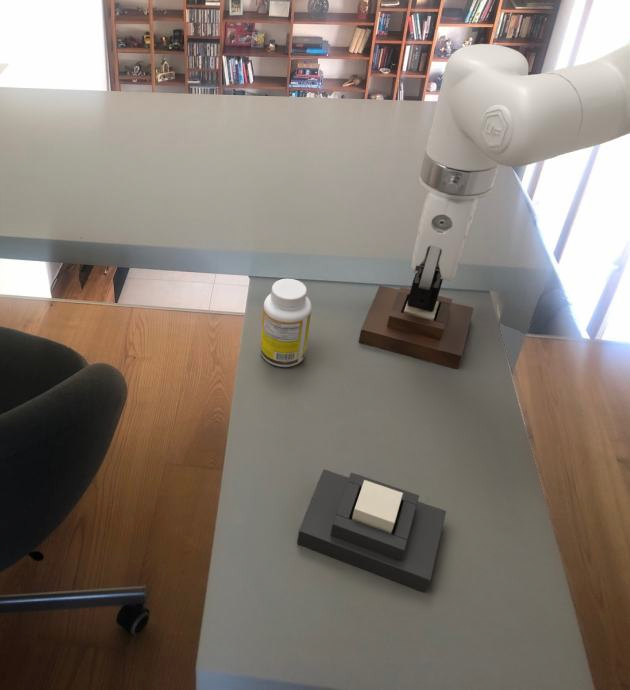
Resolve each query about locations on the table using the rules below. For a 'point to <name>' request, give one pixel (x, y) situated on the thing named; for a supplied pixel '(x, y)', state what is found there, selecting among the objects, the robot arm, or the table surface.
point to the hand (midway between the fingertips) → (421, 305)
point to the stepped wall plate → (373, 532)
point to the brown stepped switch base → (417, 328)
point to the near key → (377, 506)
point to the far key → (421, 312)
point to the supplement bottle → (285, 323)
